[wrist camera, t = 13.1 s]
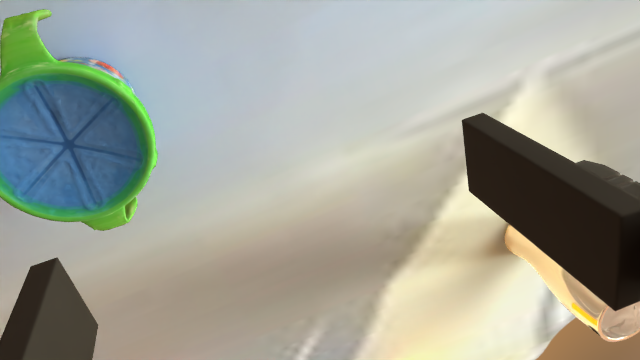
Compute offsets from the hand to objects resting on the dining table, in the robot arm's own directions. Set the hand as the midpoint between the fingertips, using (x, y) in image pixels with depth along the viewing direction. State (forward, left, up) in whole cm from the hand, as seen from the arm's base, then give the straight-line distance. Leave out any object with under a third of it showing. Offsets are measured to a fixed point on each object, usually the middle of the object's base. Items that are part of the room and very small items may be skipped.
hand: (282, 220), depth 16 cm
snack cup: (+11, +1, -29) cm, 31 cm away
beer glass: (-28, +30, -29) cm, 50 cm away
